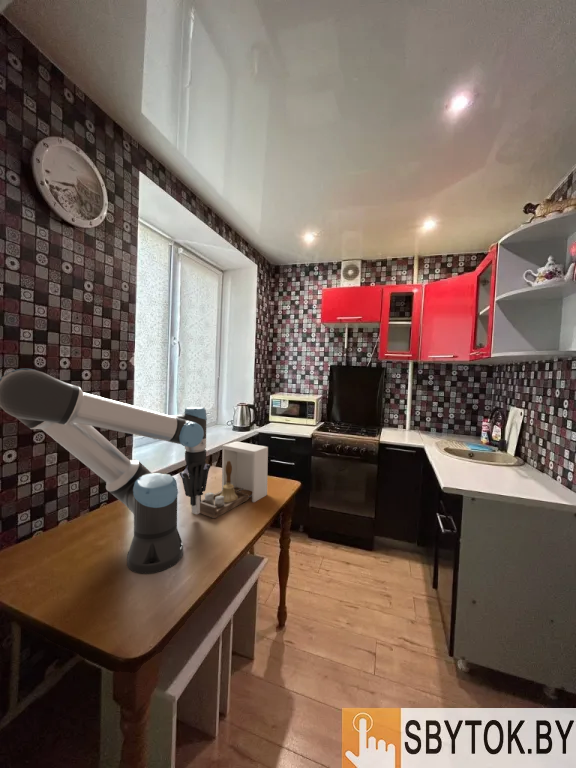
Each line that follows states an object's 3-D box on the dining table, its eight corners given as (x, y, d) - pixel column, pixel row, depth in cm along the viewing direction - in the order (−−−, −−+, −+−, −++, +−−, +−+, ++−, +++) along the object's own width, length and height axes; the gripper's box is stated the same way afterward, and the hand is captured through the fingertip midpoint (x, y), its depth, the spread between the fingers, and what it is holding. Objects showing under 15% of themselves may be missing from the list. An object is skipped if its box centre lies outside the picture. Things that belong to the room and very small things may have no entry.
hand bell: (242, 498, 131) (242, 460, 130) (227, 504, 124) (227, 465, 124) (228, 493, 136) (229, 457, 135) (213, 499, 129) (214, 461, 129)
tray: (214, 518, 115) (214, 505, 115) (191, 510, 121) (191, 497, 121) (248, 499, 132) (248, 487, 132) (227, 493, 139) (227, 482, 138)
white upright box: (220, 521, 114) (221, 463, 113) (186, 509, 123) (187, 455, 122) (267, 494, 139) (267, 446, 138) (235, 486, 148) (236, 441, 147)
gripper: (188, 455, 106) (188, 522, 108) (216, 447, 117) (215, 508, 119) (173, 451, 110) (174, 517, 112) (201, 444, 121) (201, 503, 123)
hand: (195, 512), depth 115 cm, fingers closed
